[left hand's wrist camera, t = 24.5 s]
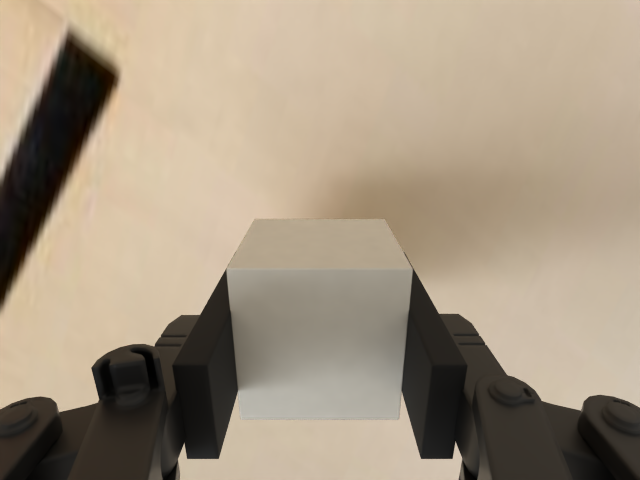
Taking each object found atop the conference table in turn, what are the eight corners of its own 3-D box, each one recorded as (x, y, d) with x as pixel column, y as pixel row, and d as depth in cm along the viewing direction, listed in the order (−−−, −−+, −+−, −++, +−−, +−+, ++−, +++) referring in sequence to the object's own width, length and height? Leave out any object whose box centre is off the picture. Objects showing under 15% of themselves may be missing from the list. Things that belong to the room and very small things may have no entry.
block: (385, 218, 14) (413, 268, 10) (378, 335, 16) (399, 420, 11) (254, 218, 14) (225, 268, 10) (261, 334, 16) (239, 420, 11)
